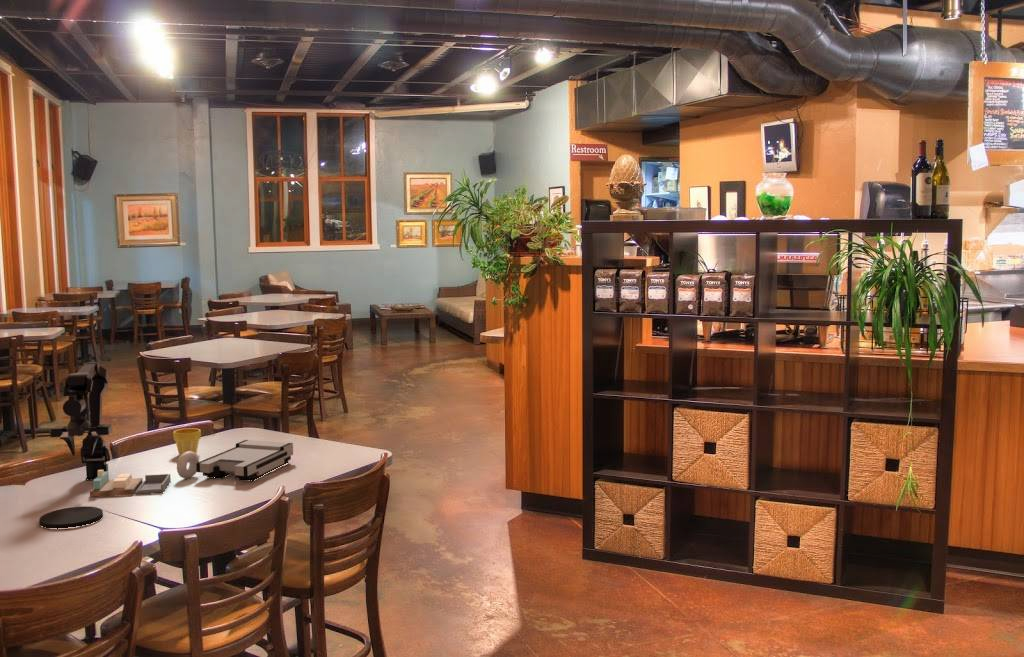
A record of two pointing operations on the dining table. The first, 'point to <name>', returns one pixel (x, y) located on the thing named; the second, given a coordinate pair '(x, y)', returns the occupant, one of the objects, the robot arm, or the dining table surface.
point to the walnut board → (117, 489)
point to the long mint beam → (100, 479)
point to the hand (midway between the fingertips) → (82, 455)
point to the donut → (182, 464)
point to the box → (154, 484)
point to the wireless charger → (71, 517)
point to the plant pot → (187, 439)
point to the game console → (247, 460)
